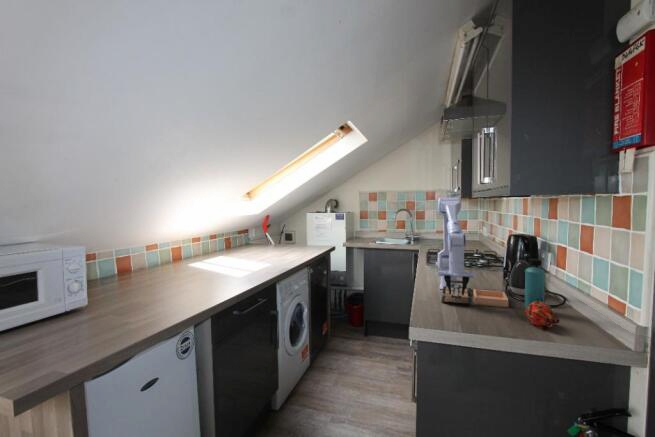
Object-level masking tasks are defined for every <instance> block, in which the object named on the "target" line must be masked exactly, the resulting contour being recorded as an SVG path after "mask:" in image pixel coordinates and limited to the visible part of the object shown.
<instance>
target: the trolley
mask: <svg viewBox="0 0 655 437" xmlns="http://www.w3.org/2000/svg"><path fill="white" fill-rule="evenodd" d="M451 283H456V284H462V280H459V279H458V280H451ZM442 293H444V294H441V303H446V302H451V303H453V302H460V303H461V304H468V305H469V306H472V304H473V301H472V300H473V299H472V297H470V296H471V288H469V287H467V286H466V288H465V291H464V295H462V286H461V287H460V298H453V287H452V286H451V294H449V289H448V286H447V284H446V286H443V289H442Z"/></svg>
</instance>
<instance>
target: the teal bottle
mask: <svg viewBox="0 0 655 437" xmlns="http://www.w3.org/2000/svg"><path fill="white" fill-rule="evenodd" d="M528 264H529V265H533V266H534V267H529V268H527V269H526V270H525V296H524V306H525V308H527V307H528V306H529V305H530V304H531V303H533V302H538V301H539V302H543V303H544V304H545V302H546V298H545V297H546V296H545V294H546V293H545V286H546V279H545V277H546V276H545V274H546V272H545V270H544V269H542V268H541V267H542V260H541V259H539V258H529V259H528ZM540 266H541V267H540Z"/></svg>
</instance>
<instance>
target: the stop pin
mask: <svg viewBox="0 0 655 437" xmlns="http://www.w3.org/2000/svg"><path fill="white" fill-rule="evenodd" d="M452 287H453V298H460V287H462V284H460V283H456V284H452ZM452 303H453V304H456V305H457V304H460V303H461V302H452Z"/></svg>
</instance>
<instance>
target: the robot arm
mask: <svg viewBox="0 0 655 437" xmlns="http://www.w3.org/2000/svg"><path fill="white" fill-rule="evenodd" d="M461 208H462V199H461V197H459V196H458V197H439V198H438V199H437V212H438V215H439V216H441V218H442V223H443V224H442V225H443V228H442V229H443V230H442V232H443V233H442V234H443V249H442V250H441V251H439V252H438V253H437V268H438V269H440V270H438V271H437V276H438V277H440V284H439V290H443V286H446V284H447V286H448V289H449V294H451V286H452V284H457V283H451V280H457V278H461V279H462V280H461V281H462V283H461V287H462V295H464V291H465V288H466V286H467V285H468V284H469V282H470V279H473V280H474V279H475V280H476V278H477V274H476V272H470V271H469V272H468V271H465V248H466V245H467V238H466V234H465V232H464V231H463V227H462V222H461V221H460V220H458V215H459V213H460V211H461Z"/></svg>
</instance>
